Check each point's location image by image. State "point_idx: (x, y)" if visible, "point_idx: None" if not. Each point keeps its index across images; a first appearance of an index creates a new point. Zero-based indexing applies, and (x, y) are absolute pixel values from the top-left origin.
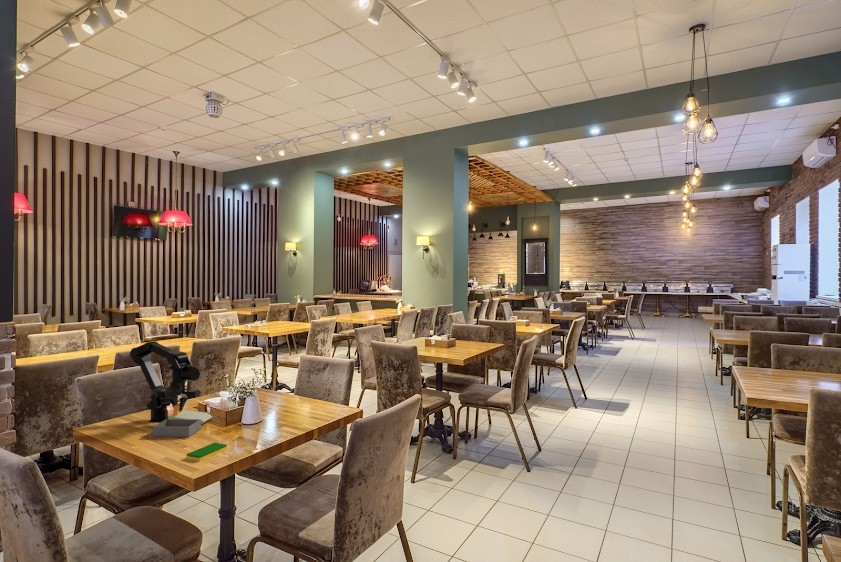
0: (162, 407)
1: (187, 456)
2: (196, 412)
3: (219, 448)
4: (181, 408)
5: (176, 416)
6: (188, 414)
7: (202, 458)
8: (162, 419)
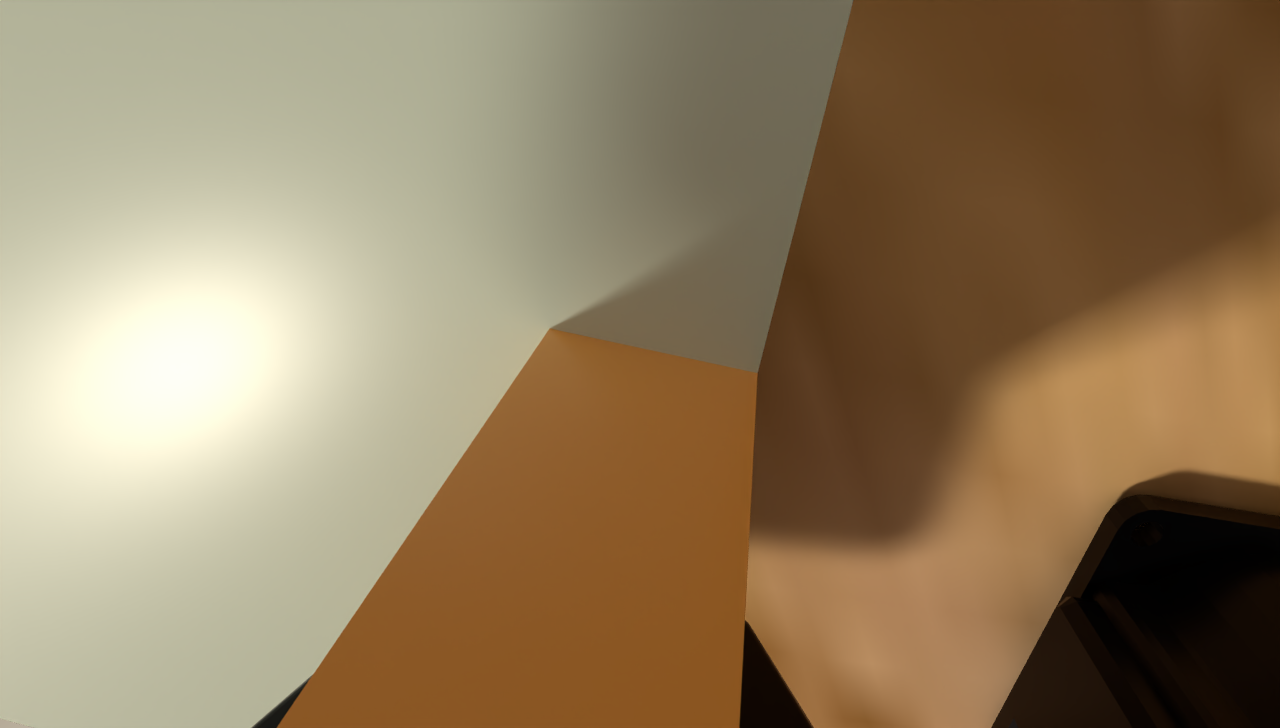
0: None
1: None
2: (90, 681)
3: None
4: None
5: (500, 135)
6: (187, 477)
7: None
8: (1127, 593)
